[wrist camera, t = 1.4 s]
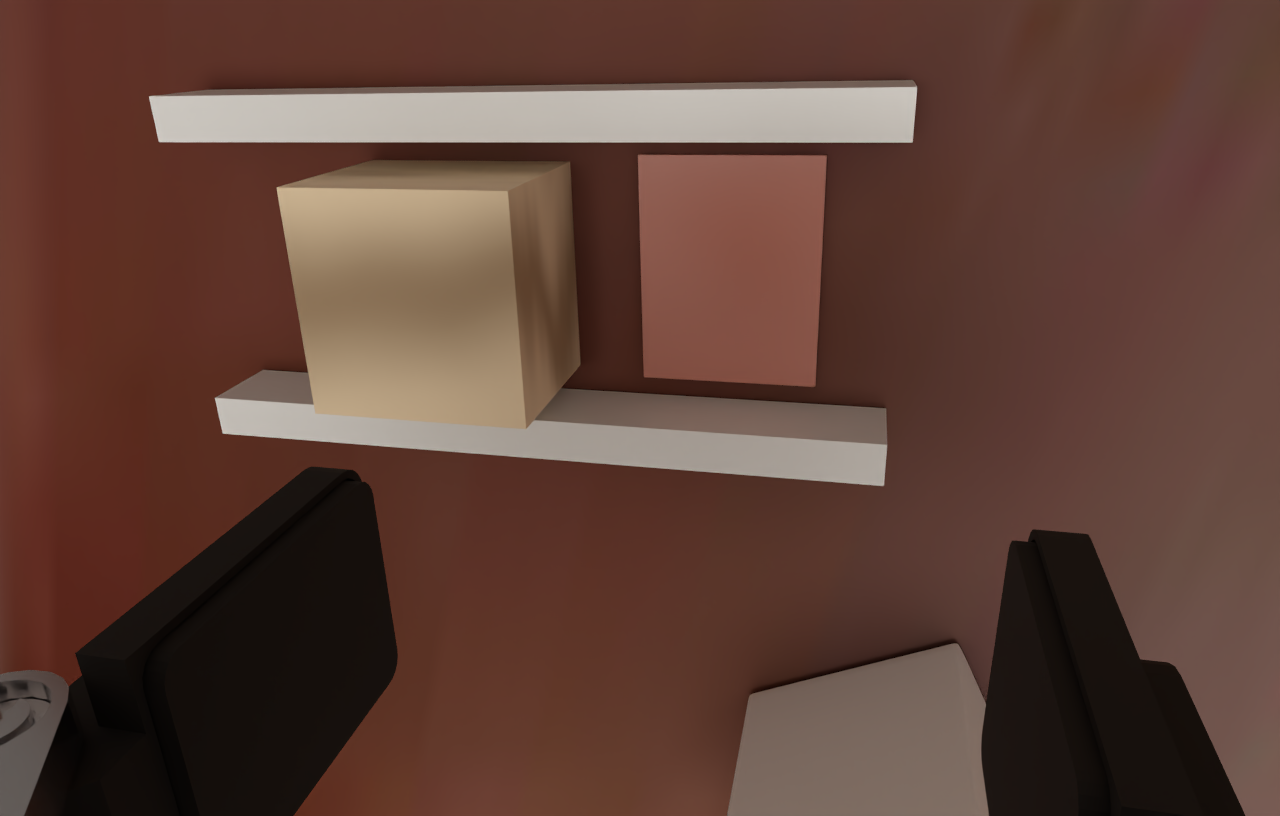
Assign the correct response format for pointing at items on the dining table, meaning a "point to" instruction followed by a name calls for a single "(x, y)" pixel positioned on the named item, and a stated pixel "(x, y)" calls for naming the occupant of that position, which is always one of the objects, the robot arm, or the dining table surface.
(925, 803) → the milk carton
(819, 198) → the channel
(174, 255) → the dining table surface
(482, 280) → the maple block
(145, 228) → the dining table surface
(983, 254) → the dining table surface
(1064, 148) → the dining table surface
